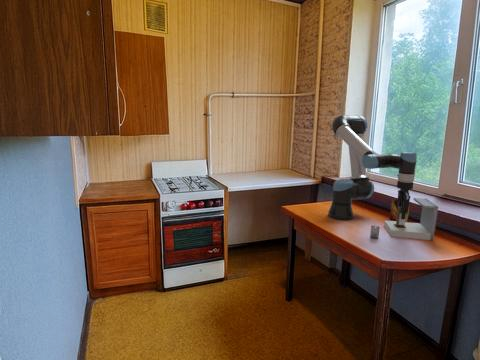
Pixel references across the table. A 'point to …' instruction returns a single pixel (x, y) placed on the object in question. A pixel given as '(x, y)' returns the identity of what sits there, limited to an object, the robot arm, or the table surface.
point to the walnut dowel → (398, 219)
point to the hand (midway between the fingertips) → (400, 223)
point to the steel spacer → (374, 232)
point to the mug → (394, 211)
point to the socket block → (417, 229)
